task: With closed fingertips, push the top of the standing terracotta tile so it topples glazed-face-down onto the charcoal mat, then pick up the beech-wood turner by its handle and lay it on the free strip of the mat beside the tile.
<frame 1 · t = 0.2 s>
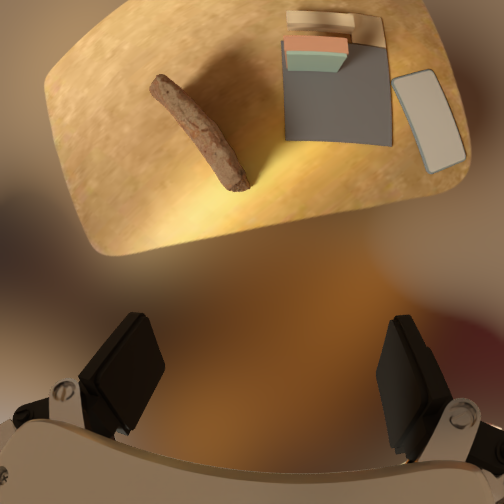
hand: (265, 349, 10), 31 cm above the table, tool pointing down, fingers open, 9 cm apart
stone: (214, 136, 36), on the table
smartphone: (430, 120, 30), on the table
tile: (311, 62, 30), resting on mat
mat: (338, 90, 31), on the table
turner: (336, 27, 27), on the table
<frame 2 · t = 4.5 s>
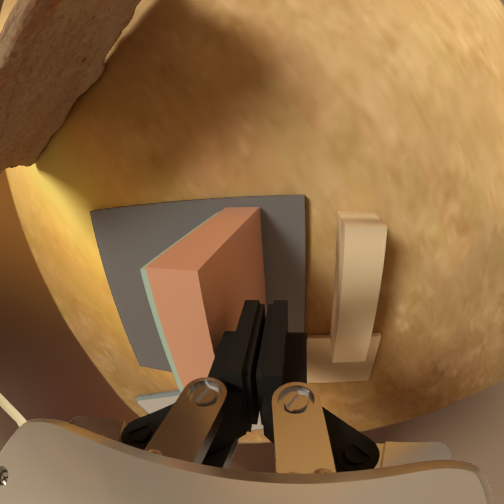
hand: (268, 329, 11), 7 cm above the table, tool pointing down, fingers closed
stone: (88, 79, 14), on the table
smartphone: (204, 408, 26), on the table
tile: (247, 263, 17), point 1 cm above the table, tilted 6°, touching mat
mat: (198, 304, 19), on the table
turner: (347, 311, 18), on the table
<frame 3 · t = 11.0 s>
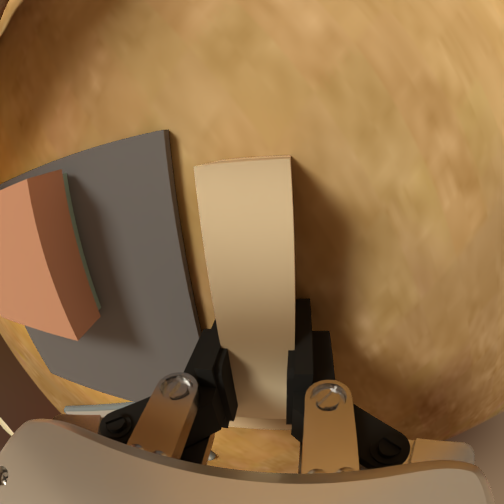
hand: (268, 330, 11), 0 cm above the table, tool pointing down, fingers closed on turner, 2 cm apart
smartphone: (130, 429, 19), on the table
tile: (63, 257, 9), point 2 cm above the table, tilted 90°, touching mat
mat: (75, 302, 13), on the table
turner: (269, 333, 11), on the table, touching gripper
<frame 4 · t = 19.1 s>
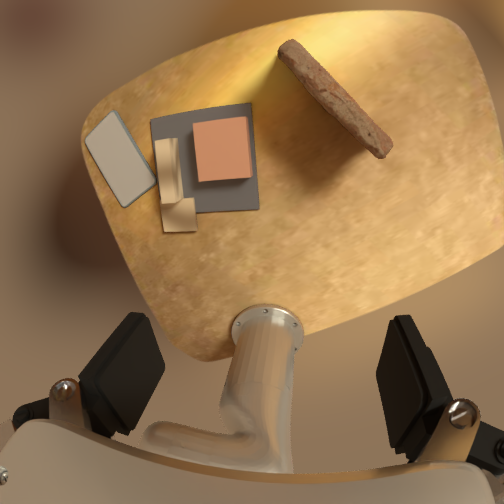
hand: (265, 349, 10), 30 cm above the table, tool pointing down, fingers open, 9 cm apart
stone: (327, 98, 32), on the table
smartphone: (120, 158, 39), on the table
tile: (225, 178, 36), point 2 cm above the table, tilted 90°, touching mat
mat: (202, 160, 37), on the table
turner: (175, 185, 39), resting on mat
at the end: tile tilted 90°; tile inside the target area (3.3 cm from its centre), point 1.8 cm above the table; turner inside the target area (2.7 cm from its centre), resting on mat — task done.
